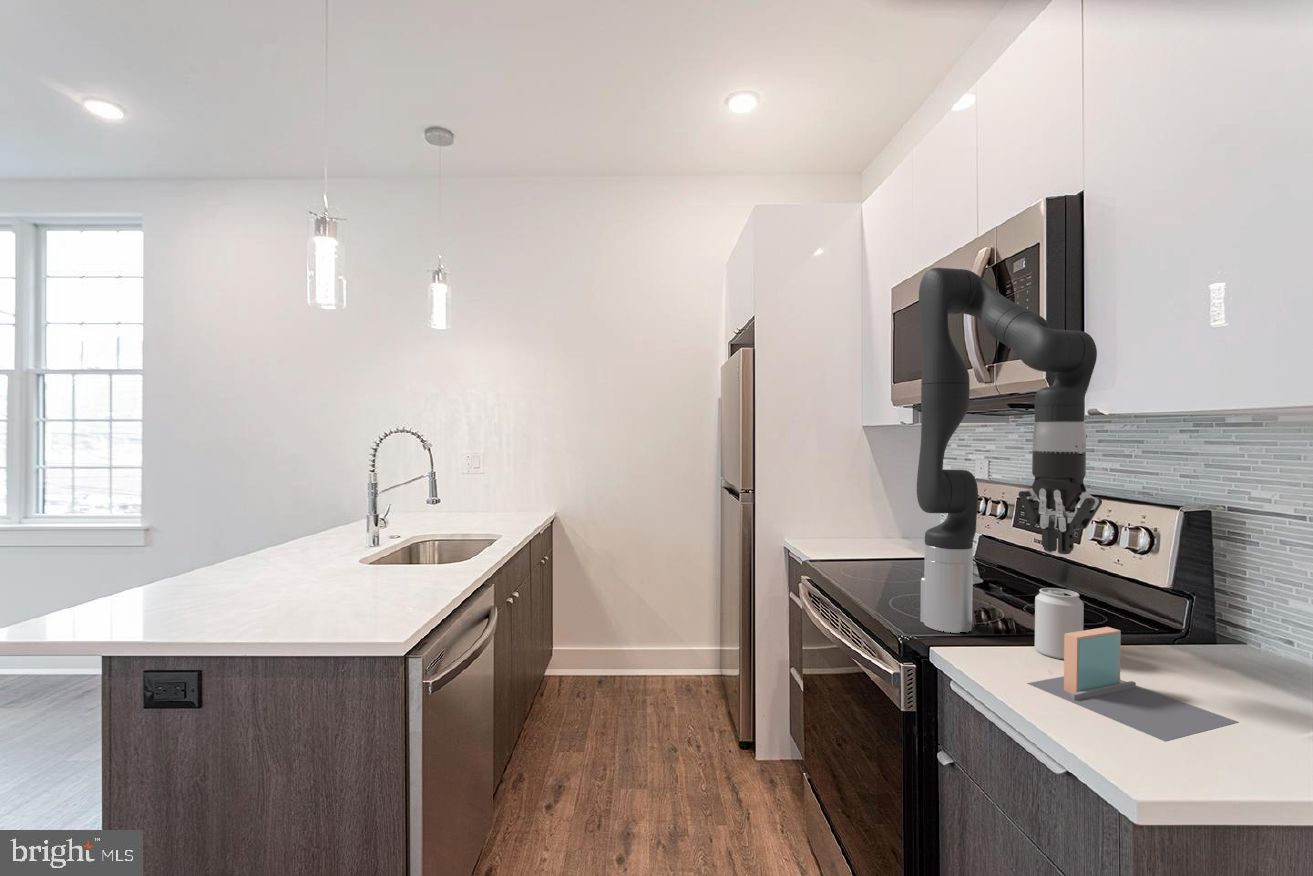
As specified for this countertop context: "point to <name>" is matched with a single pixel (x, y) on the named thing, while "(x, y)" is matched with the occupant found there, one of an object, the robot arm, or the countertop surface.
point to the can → (1056, 619)
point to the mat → (1140, 708)
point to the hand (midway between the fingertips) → (1057, 552)
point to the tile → (1091, 659)
